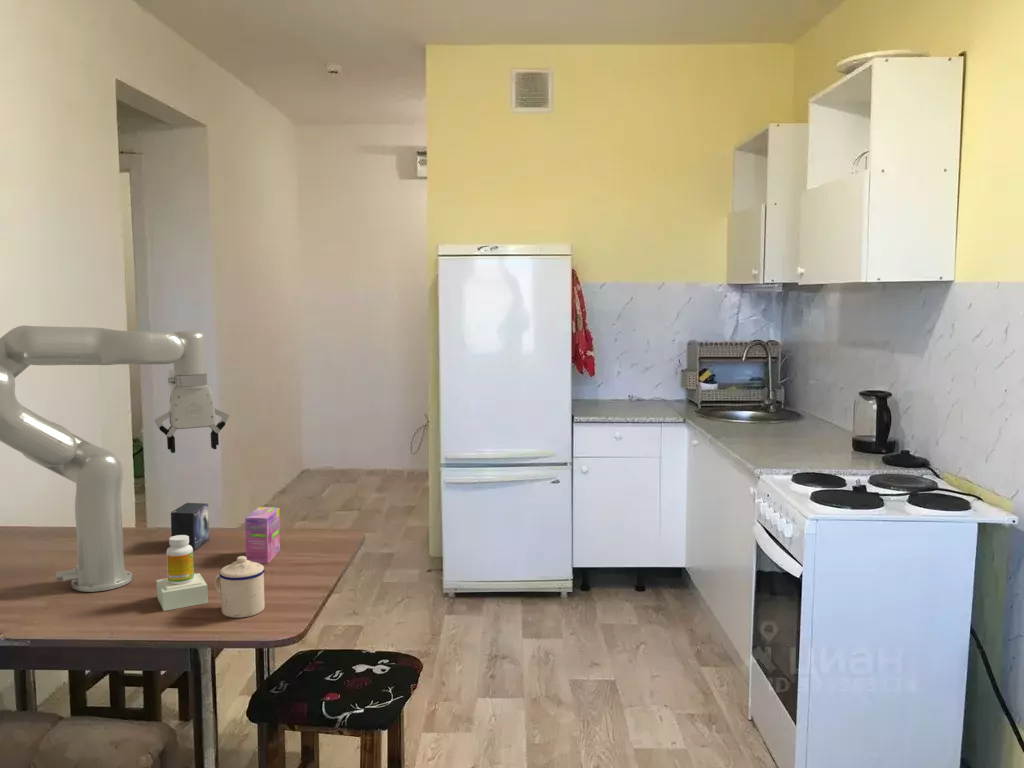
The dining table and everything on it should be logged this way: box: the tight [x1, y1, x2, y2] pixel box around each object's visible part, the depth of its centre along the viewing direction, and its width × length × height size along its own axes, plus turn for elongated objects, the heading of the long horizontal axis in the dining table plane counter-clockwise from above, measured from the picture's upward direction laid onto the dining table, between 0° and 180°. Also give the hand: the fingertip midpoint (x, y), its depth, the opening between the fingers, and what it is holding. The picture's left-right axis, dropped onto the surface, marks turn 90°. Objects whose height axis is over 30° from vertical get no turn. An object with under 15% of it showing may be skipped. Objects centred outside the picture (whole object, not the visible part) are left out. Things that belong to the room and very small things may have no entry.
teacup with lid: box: [214, 555, 266, 619], centre depth 176 cm, size 12×9×12 cm
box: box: [244, 506, 281, 565], centre depth 210 cm, size 10×6×12 cm, turn 179°
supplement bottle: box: [165, 535, 195, 584], centre depth 180 cm, size 5×5×10 cm
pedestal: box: [156, 572, 209, 612], centre depth 181 cm, size 9×9×4 cm
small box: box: [170, 502, 210, 552], centre depth 220 cm, size 11×6×10 cm, turn 179°
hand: (193, 450), depth 205 cm, fingers open, 9 cm apart
